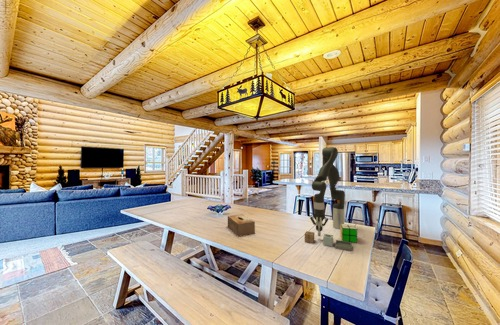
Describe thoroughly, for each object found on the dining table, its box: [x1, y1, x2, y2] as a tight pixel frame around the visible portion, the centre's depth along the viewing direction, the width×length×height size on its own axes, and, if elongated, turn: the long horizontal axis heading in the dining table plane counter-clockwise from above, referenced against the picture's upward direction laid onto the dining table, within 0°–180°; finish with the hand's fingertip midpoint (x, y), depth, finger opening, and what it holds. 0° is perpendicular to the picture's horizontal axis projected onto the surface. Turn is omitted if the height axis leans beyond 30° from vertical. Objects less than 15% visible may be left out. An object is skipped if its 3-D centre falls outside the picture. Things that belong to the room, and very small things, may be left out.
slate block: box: [322, 233, 334, 248], centre depth 144 cm, size 6×6×6 cm
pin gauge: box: [317, 221, 322, 237], centre depth 153 cm, size 2×2×12 cm
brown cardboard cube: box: [304, 230, 315, 244], centre depth 150 cm, size 6×6×6 cm
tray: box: [334, 239, 353, 252], centre depth 140 cm, size 10×10×2 cm
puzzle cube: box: [339, 223, 358, 244], centre depth 153 cm, size 10×10×10 cm
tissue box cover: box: [227, 213, 256, 237], centre depth 174 cm, size 26×14×10 cm, turn 26°
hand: (319, 230), depth 153 cm, fingers closed on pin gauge, 2 cm apart
